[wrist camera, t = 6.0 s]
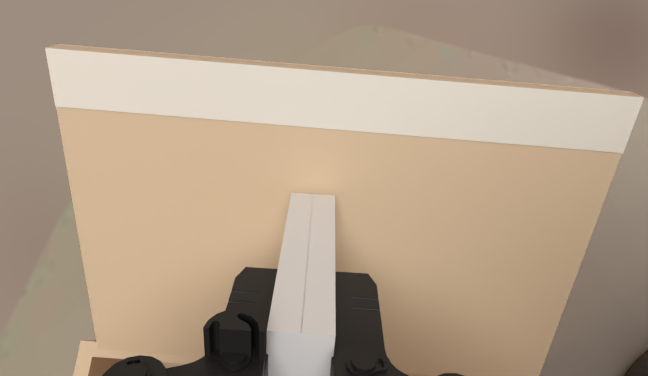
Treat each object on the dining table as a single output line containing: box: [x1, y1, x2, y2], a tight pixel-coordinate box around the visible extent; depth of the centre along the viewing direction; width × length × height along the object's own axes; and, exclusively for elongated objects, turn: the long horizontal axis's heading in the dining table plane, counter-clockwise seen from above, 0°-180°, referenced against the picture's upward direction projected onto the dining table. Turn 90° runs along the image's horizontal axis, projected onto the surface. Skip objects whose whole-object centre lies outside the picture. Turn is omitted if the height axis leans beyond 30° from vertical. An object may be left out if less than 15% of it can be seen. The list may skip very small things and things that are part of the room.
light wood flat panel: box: [45, 44, 644, 376], centre depth 17 cm, size 18×1×12 cm
